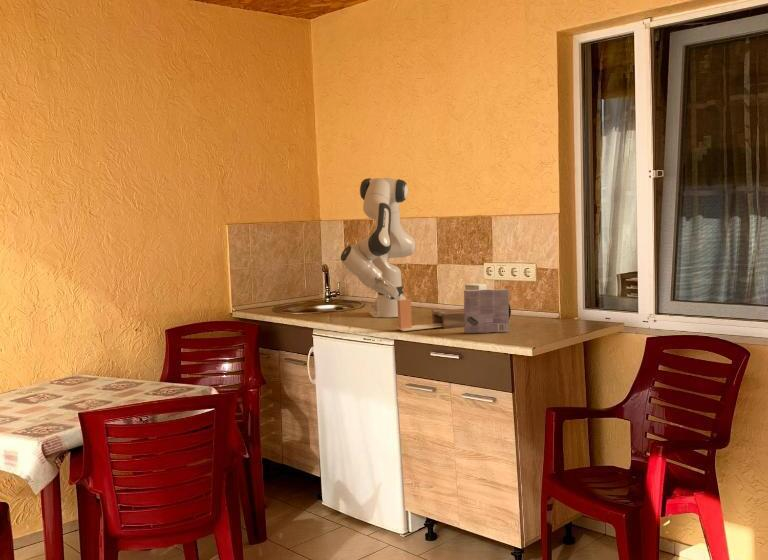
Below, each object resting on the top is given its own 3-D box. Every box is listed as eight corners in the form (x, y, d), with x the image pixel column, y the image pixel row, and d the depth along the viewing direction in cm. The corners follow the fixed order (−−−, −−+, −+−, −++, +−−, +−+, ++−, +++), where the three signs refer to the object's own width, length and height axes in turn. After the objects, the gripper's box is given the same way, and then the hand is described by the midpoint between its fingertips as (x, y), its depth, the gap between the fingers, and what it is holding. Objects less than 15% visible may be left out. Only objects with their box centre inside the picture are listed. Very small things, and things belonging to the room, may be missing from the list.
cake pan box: (511, 330, 337) (509, 287, 335) (512, 332, 332) (511, 289, 330) (464, 332, 338) (462, 289, 336) (465, 334, 333) (463, 291, 331)
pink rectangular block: (396, 328, 352) (395, 299, 350) (441, 324, 359) (440, 295, 358) (403, 331, 345) (401, 301, 343) (448, 326, 352) (447, 297, 351)
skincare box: (464, 318, 378) (463, 284, 376) (473, 316, 383) (472, 282, 381) (479, 319, 372) (478, 285, 371) (488, 317, 377) (487, 283, 375)
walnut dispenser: (432, 325, 360) (431, 309, 359) (469, 321, 366) (468, 306, 366) (444, 328, 348) (443, 313, 348) (482, 324, 355) (481, 309, 354)
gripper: (385, 273, 333) (408, 295, 337) (368, 270, 352) (390, 290, 356) (375, 284, 332) (399, 306, 336) (359, 281, 351) (381, 301, 355)
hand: (394, 298), depth 346 cm, fingers open, 8 cm apart
